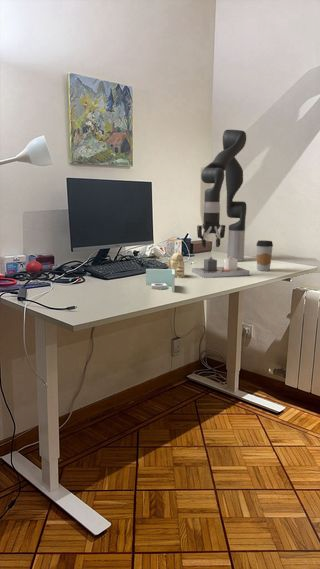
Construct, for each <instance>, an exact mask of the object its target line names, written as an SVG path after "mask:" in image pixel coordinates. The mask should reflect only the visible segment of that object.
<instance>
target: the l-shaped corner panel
mask: <svg viewBox="0 0 320 569" xmlns="http://www.w3.org/2000/svg"><path fill="white" fill-rule="evenodd" d="M175 278H176V277H175V269H168V268H166V269H165V268H164V269H163V268H146V269H145V286H150V288H151V289H152V288H154V289H153V290H157V289H158V290H160V289H162V290H166V289H165V288H167V289H168V286H166V285H170V286H169V287H171V292H172V293H175V287H176V286H175V283H176V282H175V280H176V279H175Z"/></svg>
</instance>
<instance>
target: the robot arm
mask: <svg viewBox="0 0 320 569" xmlns="http://www.w3.org/2000/svg"><path fill="white" fill-rule="evenodd" d="M246 143H247V133H246V132H245V131H244V130H240V129H225V130H224V132H223V135H222V149H223V150H221V151H220V152H218V153H217V155H216V156H215V157H214V159H213V160H212V162H210V163H209V164H207V165H206V166H205V167H204V168H203V169H202V171H201V175H200V179H201V181H202V182H203V183H205V184H213V186H212V187H210V188H206V189H205V190H204V204H203V223H202V224H201V225H200V224H198V225H197V226H196V229H197V230H196V231H197V234H196V235H197V238H198V239H201V246H202V248H203V249H204V248H206V247H207V245H206V244H207V240H206V239H207V237H208V236H209V234H213V235H214V236H215V238H216V239H215V247H216V248H220V246H221V239H223V238H225V236H226V235H225V233H226V225H225V224H220V219H221V218H220V216H221V215H220V213H221V204H220V202H221V201H220V200H221V199H220V198H221V191H222V186H223V183H224V179H225V187H226V215H227V217H228V218H230V219H239V220H238V221H236V222H235V223H232V224H229V225H228V236H227V239H228V240H227V249H226V250H227V256H226V258H229V256H233V258H235V259H237V262H243V261H245V240H246V239H245V237H246V215H247V203H246V201H233V200H234V197H236V196H235V195H236V194H237V193H238V191H239V190H240V188H241V187H242V185H243V183H244V169H243V167H242V166H241V164H240V163H239V161H238V159H237V158H236V156H237V155H238V154H239V153H240V152H241V151H242V150H243V149H244V147H245V146H246ZM219 230H220V231H219Z"/></svg>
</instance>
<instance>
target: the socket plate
mask: <svg viewBox="0 0 320 569" xmlns="http://www.w3.org/2000/svg"><path fill="white" fill-rule="evenodd" d="M191 273H193V274H195V275H197V276H199V277H201V278H203V277H204V279H205V277H206V278H207V277H213V278H230V277H231V278H233V277H236V278H237V277H250V270H248V269H246V268H243V267H239V266H237V270H228V269H224V266H217V271H208V272H206V271H204V267H194V268H193V267H192V268H191ZM207 279H208V278H207Z"/></svg>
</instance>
